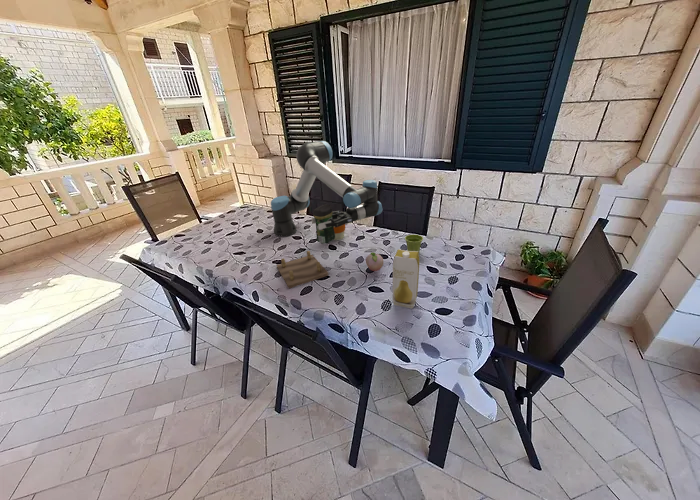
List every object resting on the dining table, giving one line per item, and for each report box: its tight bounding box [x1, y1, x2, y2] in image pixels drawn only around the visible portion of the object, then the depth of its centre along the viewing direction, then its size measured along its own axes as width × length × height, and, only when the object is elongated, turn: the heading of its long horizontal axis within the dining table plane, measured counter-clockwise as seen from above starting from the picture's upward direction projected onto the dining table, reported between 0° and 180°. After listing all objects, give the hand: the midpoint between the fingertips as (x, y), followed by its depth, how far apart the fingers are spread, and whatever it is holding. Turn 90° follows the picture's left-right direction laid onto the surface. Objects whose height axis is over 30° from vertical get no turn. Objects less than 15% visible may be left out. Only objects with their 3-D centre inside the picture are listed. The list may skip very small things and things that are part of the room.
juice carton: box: [392, 249, 421, 309], centre depth 105 cm, size 9×8×24 cm
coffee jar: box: [312, 203, 335, 245], centre depth 136 cm, size 10×8×19 cm
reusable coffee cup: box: [332, 210, 346, 241], centre depth 166 cm, size 13×13×15 cm
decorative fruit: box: [365, 251, 385, 272], centre depth 130 cm, size 9×8×10 cm
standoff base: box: [276, 250, 330, 289], centre depth 135 cm, size 22×20×6 cm
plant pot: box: [404, 233, 424, 254], centre depth 144 cm, size 9×9×9 cm
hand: (315, 223), depth 134 cm, fingers closed on coffee jar, 8 cm apart
